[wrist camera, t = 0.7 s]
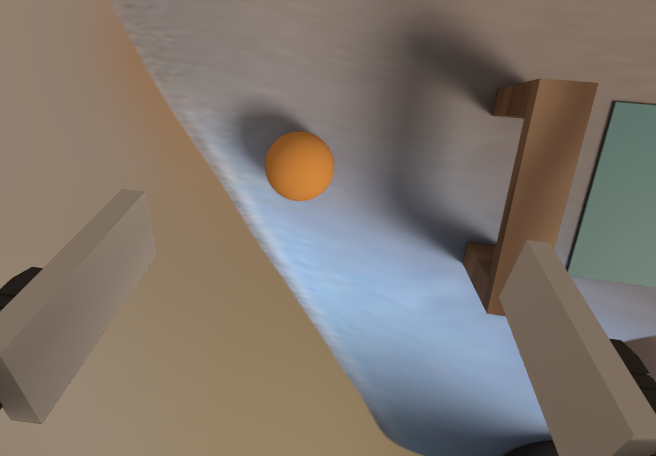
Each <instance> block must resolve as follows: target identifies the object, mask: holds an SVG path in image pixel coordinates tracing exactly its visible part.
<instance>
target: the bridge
mask: <svg viewBox="0 0 656 456" xmlns="http://www.w3.org/2000/svg"><path fill="white" fill-rule="evenodd" d="M597 86H598V83H591V82H578V81H565V80H553V79H536V80H532V81H528V82H524V83H520V84H515V85H511V86H507V87H503V88H499V89H497V94H496V99H495V104H494V109H493V114H492V116H502V117H513V118H524V123H523V127H522V132H521V136H520V141H519V145H518V150H517V154H516V159H515V163H514V168H513V172H512V177H511V181H510V186H509V190H508V195H507V199H506V204H505V208H504V213H503V217H502V222H501V226H500V231H499V235H498V240H497V244H496V246H495V245H487V244H479V243H471V242H467V245H466V250H465V255H464V260H463V265H464V267H465V269H466V271H467V273H468V275H469V278H470V280H471V282H472V284H473V286H474V288H475V290H476V292H477V294H478V296H479V298H480V300H481V302H482V304H483V306H484V308H485V310H486V313H487V314H494V315H501V316H506V315H505V312H504V310H503V307H502V305H501V302H500V299H499V296H500V294H501V292H502V290H503V288H504V286H505V284H506V282H507V280H508V278H509V275H510V273H511V271H512V269H513V267H514V265H515V263H516V261H517V259H518V257H519V255H520V253H521V251H522V249H523V247H524V245H525V243H526V241H527V240H531V241H539V242H547V243H550V245H551V246H552V248H553V249H554V247H555V243H556V240H557V236H558V232H559V228H560V225H561V221H562V217H563V213H564V210H565V206H566V202H567V198H568V195H569V191H570V187H571V183H572V180H573V176H574V172H575V168H576V165H577V161H578V157H579V153H580V150H581V146H582V142H583V138H584V135H585V131H586V127H587V123H588V120H589V116H590V112H591V109H592V105H593V101H594V97H595V94H596V90H597Z"/></svg>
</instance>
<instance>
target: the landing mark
mask: <svg viewBox="0 0 656 456" xmlns="http://www.w3.org/2000/svg"><path fill="white" fill-rule="evenodd" d="M567 272H568V274H569V275H570V276H574V277H582V278H589V279H597V280H604V281H612V282H619V283H627V284H634V285H642V286H649V287H656V105H646V104H634V103H622V102H615V103H614V106H613V110H612V113H611V117H610V120H609V124H608V127H607V131H606V135H605V138H604V142H603V145H602V149H601V152H600V156H599V159H598V163H597V166H596V170H595V174H594V177H593V181H592V184H591V188H590V191H589V195H588V198H587V202H586V206H585V209H584V213H583V216H582V220H581V223H580V227H579V230H578V234H577V238H576V241H575V245H574V248H573V252H572V255H571V259H570V262H569V266H568V269H567Z"/></svg>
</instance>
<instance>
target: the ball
mask: <svg viewBox="0 0 656 456" xmlns="http://www.w3.org/2000/svg"><path fill="white" fill-rule="evenodd" d="M265 172H266V176H267V179H268V181H269V183H270V185H271V186H272V188H273V189H274V190H275V191H276V192H277V193H278V194H280V195H281V196H283V197H285V198H287V199H290V200H294V201H306V200H310V199H313V198H315V197H317V196H318V195H320V194H321V193H322V192H323V191H325V189H326V188H327V187H328V185H329V184H330V182H331V179H332V177H333V172H334V160H333V156H332V154H331V151H330V149H329V148H328V146H327V145H326V144H325V142H324V141H323V140H321V139H320V138H319V137H317V136H316V135H314V134H311V133H308V132H303V131H296V132H290V133H287V134H285V135H283V136H281V137H279V138H278V139H277V140H276V141H275V142H274V143H273V144H272V145H271V147H270V149H269V150H268V153H267V155H266V159H265Z"/></svg>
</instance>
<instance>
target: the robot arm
mask: <svg viewBox="0 0 656 456" xmlns="http://www.w3.org/2000/svg"><path fill="white" fill-rule="evenodd" d="M156 255H157V253H156V248H155V243H154V238H153V233H152V229H151V223H150V217H149V212H148V207H147V202H146V197H145V193H144V192H139V191H131V190H124V189H122V190H121V191H120V192H119V193H118V194H117V195H116V196H115V197H114V198H113V199H112V200H111V201H110V202H109V203H108V204H107V205H106V206H105V207H104V208H103V209H102V210H101V211H100V212H99V213H98V214H97V215H96V216H95V217H94V218H93V219H92V220H91V221H90V222H89V223H88V224H87V225H86V226H85V227H84V228H83V229H82V230H81V231H80V232H79V233H78V234H77V235H76V236H75V237H74V238H73V239H72V240H71V241H70V242H69V243H68V244H67V245H66V246H65V247H64V248H63V249H62V250H61V251H60V252H59V253H58V254H57V255H56V256H55V257H54V259H52V260H51V261H50V262H49V263H48V264H47V265H46V266H45V267H44V268H37V267H31V268H29V269H28V270H26V271H24V272H22V273H20V274H19V275H17V276H15V277H13V278H12V279H11V280H9V281H8V282H7V283H6V284H5V285H4V286H3V287H2V288H1V289H0V409H1V408H3V409H4V410H5V412H6V413H7V415H8V416H9V418H10V419H11V420H14V421H22V422H30V423H38V424H42V423H43V422H44V420H45V419H46V417H47V416H48V414H49V413H50V411H51V410H52V408H53V407H54V405H55V404H56V402H57V401H58V400H59V398H60V397H61V395H62V393H63V392H64V391H65V389H66V388H67V386H68V385H69V383H70V382H71V380H72V379H73V377H74V376H75V374H76V373H77V371H78V370H79V368H80V367H81V365H82V364H83V363H84V361H85V359H86V358H87V357H88V355H89V354H90V352H91V351H92V349H93V348H94V346H95V345H96V343H97V342H98V340H99V339H100V337H101V336H102V334H103V333H104V331H105V330H106V329H107V327H108V326H109V324H110V323H111V321H112V320H113V318H114V317H115V315H116V314H117V312H118V311H119V309H120V308H121V306H122V305H123V303H124V302H125V300H126V299H127V297H128V296H129V294H130V293H131V292H132V290H133V288H134V287H135V286H136V284H137V283H138V281H139V279H140V278H141V277H142V275H143V274H144V272H145V271H146V269H147V268H148V266H149V265H150V263H151V262H152V260H153V259H154V258H155V256H156ZM499 299H500V302H501V305H502V307H503V310H504V312H505V315H506V318H507V320H508V323H509V326H510V328H511V331H512V334H513V336H514V339H515V341H516V344H517V347H518V349H519V352H520V355H521V357H522V360H523V362H524V365H525V368H526V370H527V373H528V376H529V378H530V381H531V384H532V386H533V389H534V391H535V394H536V397H537V399H538V402H539V405H540V407H541V410H542V413H543V415H544V418H545V420H546V423H547V426H548V428H549V431H550V434H551V436H552V439H553V441H551V442H541V443H536V444H531V445H528V446H524V447H521V448H519V449H516V450H514V451H512V452H510V453H509V454H507V455H505V456H656V382H655V381H654V379H653V378H651V377H650V373H649V372H648V370H647V369H646V367H645V366H644V364H643V363H642V361H641V360H640V358H639V357H638V356H637V355H636V354H635V353H634V352H633V351H632V350H631V349H630V348H629V347H628V346H627V345H626V344H624V343H623V342H622V341H621V340H615V339H609V338H608V337H607V335H606V333H605V332H604V330H603V329H602V327H601V325H600V324H599V322H598V320H597V319H596V317H595V316H594V314H593V312H592V311H591V309H590V308H589V306H588V304H587V303H586V301H585V299H584V298H583V296H582V295H581V293H580V291H579V290H578V288H577V287H576V285H575V283H574V282H573V280H572V279H571V277H570V275H569V274H568V272H567V270H566V269H565V267H564V266H563V264H562V262H561V261H560V259H559V258H558V256H557V254H556V253H555V251H554V249H553V248H552V246H551V245H550V243H547V242H539V241H531V240H527V241H526V243H525V245H524V247H523V249H522V251H521V253H520V255H519V257H518V259H517V261H516V263H515V265H514V267H513V269H512V271H511V273H510V275H509V278H508V280H507V282H506V284H505V286H504V288H503V290H502V292H501V294H500V296H499Z"/></svg>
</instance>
